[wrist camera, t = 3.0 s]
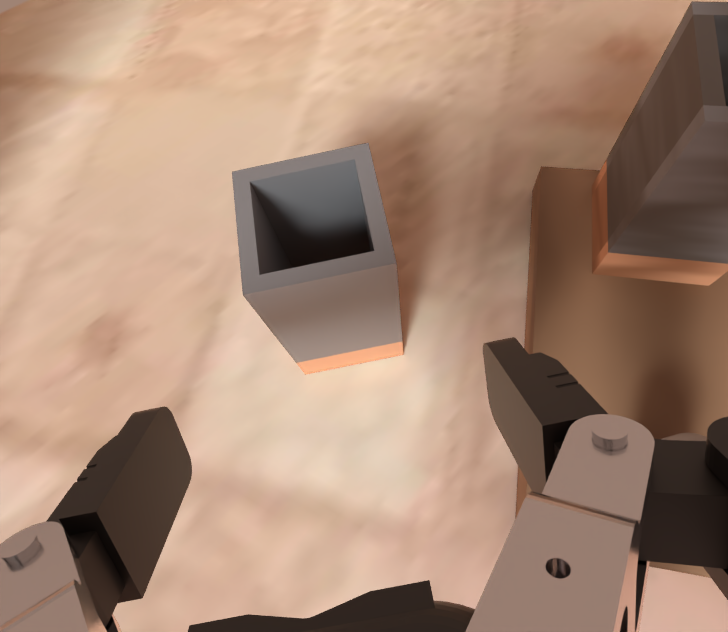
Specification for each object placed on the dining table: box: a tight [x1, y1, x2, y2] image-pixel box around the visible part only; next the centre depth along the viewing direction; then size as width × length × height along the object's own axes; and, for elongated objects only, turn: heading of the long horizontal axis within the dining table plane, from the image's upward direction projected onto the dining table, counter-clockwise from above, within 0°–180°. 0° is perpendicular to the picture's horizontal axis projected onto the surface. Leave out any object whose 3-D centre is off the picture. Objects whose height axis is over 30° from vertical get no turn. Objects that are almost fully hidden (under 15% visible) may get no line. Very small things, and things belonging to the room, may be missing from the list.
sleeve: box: [232, 143, 403, 374], centre depth 21 cm, size 5×5×10 cm
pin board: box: [516, 2, 728, 578], centre depth 18 cm, size 10×18×12 cm, turn 170°
